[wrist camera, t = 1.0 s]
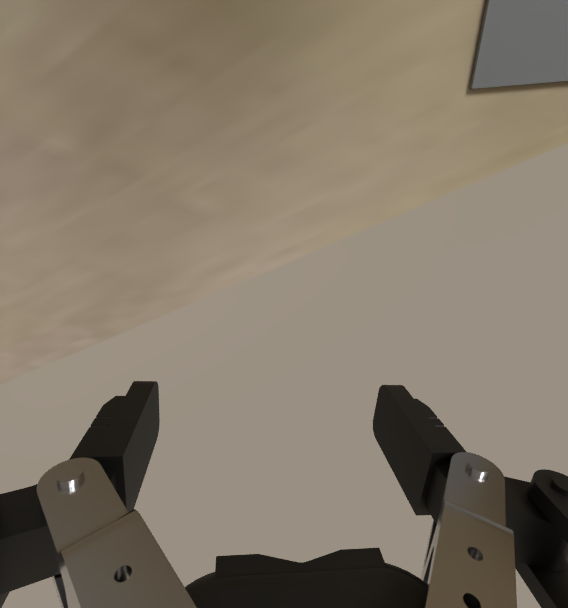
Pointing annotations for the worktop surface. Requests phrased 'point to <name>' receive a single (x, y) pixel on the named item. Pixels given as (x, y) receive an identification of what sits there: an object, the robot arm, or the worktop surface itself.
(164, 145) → the worktop surface
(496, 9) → the mat
